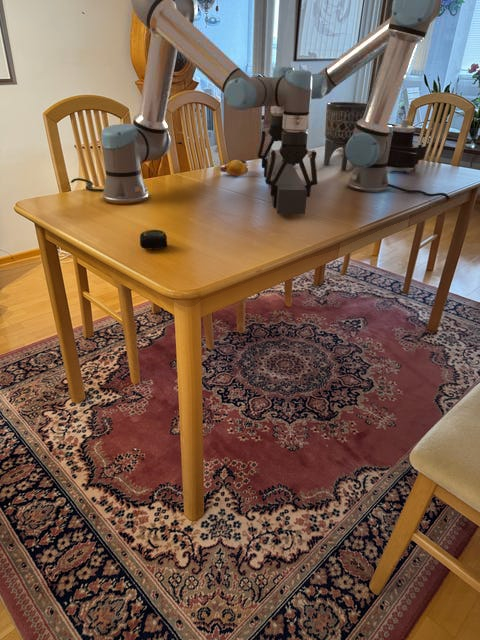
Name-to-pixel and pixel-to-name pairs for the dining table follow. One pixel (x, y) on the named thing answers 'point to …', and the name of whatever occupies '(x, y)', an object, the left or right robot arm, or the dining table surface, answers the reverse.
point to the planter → (341, 127)
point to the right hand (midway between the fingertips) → (276, 176)
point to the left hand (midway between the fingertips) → (289, 206)
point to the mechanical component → (404, 149)
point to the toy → (235, 167)
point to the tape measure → (153, 239)
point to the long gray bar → (288, 189)
